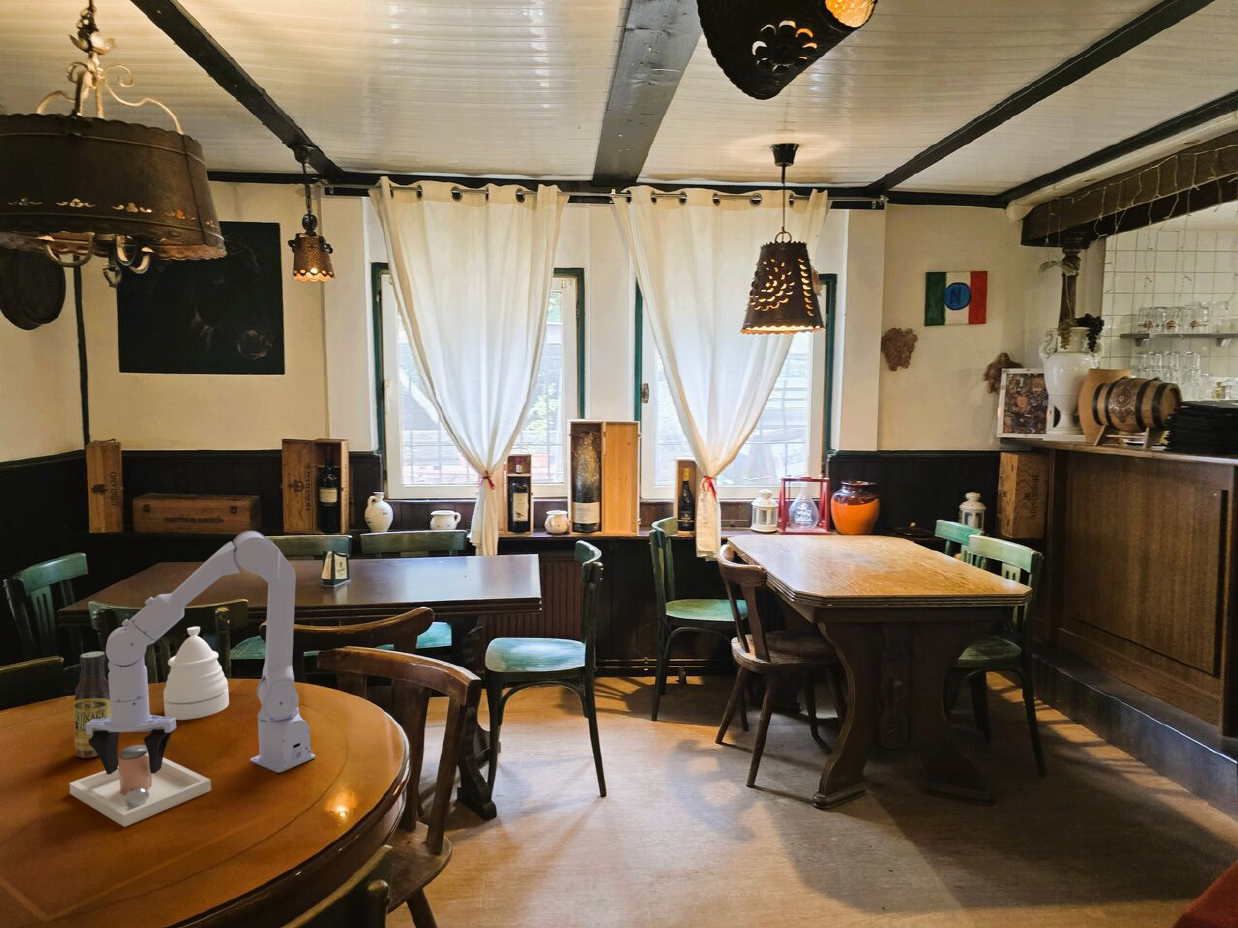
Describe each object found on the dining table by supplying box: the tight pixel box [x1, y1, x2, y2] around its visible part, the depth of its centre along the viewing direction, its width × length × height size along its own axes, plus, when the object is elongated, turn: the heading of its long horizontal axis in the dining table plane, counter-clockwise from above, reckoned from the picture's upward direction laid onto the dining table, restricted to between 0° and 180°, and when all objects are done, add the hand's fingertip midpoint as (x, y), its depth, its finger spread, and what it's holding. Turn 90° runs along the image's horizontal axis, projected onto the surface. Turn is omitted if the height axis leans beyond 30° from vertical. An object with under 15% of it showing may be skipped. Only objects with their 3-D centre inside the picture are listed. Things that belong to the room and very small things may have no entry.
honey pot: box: [162, 626, 230, 721], centre depth 175 cm, size 13×13×18 cm
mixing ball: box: [125, 787, 149, 809], centre depth 130 cm, size 4×4×4 cm
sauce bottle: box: [73, 651, 111, 759], centre depth 153 cm, size 6×6×20 cm
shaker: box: [118, 744, 152, 795], centre depth 137 cm, size 5×5×7 cm
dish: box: [69, 756, 212, 828], centre depth 136 cm, size 20×14×2 cm
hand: (134, 771), depth 137 cm, fingers open, 7 cm apart
